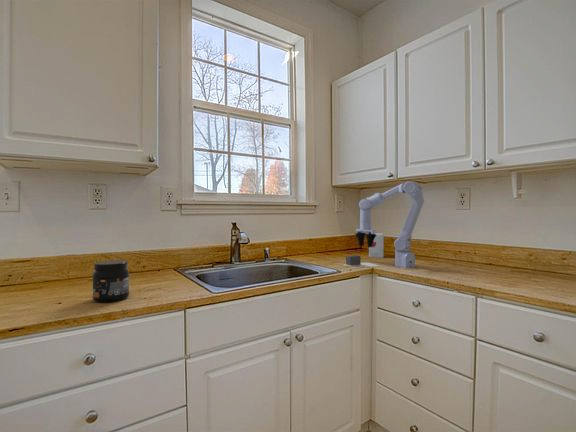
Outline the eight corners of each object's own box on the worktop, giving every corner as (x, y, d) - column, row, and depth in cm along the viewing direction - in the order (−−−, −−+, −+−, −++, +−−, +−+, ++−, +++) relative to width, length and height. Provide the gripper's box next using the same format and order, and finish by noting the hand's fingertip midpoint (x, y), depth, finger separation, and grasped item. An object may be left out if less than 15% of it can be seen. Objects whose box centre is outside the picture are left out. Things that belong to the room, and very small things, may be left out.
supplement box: (368, 257, 199) (368, 233, 199) (369, 255, 207) (369, 232, 207) (383, 257, 196) (383, 234, 196) (383, 256, 205) (383, 233, 205)
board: (380, 268, 159) (380, 265, 159) (354, 270, 153) (354, 267, 153) (367, 264, 170) (367, 262, 170) (342, 266, 164) (342, 264, 164)
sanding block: (360, 265, 159) (360, 256, 159) (350, 266, 157) (350, 256, 157) (355, 264, 163) (355, 255, 163) (346, 265, 160) (346, 255, 160)
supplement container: (91, 297, 103) (91, 261, 103) (126, 293, 109) (126, 259, 109) (93, 305, 95) (93, 266, 94) (131, 300, 101) (131, 262, 101)
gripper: (351, 221, 175) (351, 245, 175) (367, 221, 161) (367, 248, 161) (362, 221, 177) (362, 245, 177) (378, 221, 164) (378, 247, 164)
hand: (365, 246), depth 170 cm, fingers open, 7 cm apart
